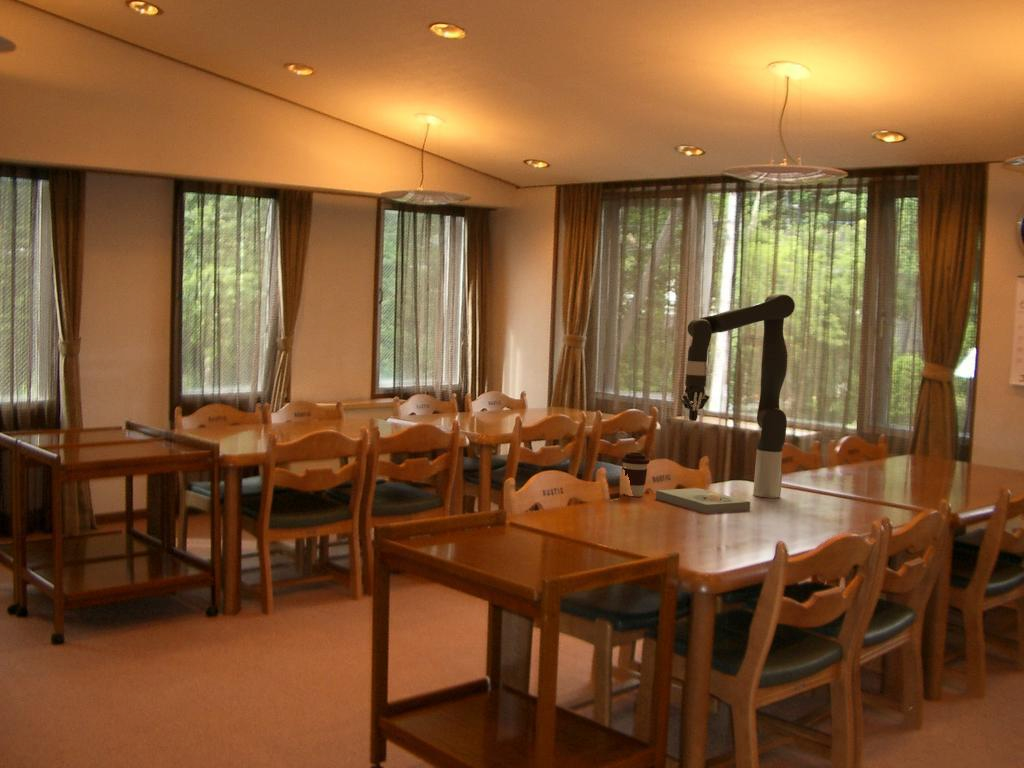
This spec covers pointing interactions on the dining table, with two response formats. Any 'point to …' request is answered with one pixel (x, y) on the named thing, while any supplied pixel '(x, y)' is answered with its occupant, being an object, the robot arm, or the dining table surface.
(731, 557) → the dining table surface
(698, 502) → the grey flat block
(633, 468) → the coffee cup
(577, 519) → the dining table surface
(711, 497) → the ball
